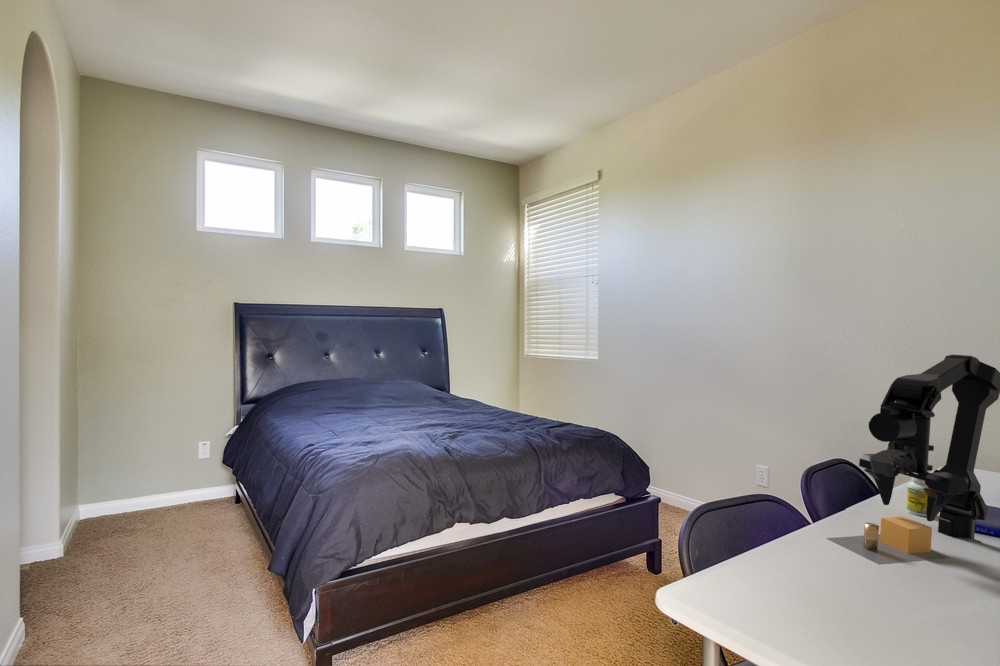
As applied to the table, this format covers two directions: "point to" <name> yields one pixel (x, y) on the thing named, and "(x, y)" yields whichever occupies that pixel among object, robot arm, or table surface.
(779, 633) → the table surface
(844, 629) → the table surface
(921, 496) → the supplement bottle
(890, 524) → the cardboard cube
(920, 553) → the plate
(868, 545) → the copper post
